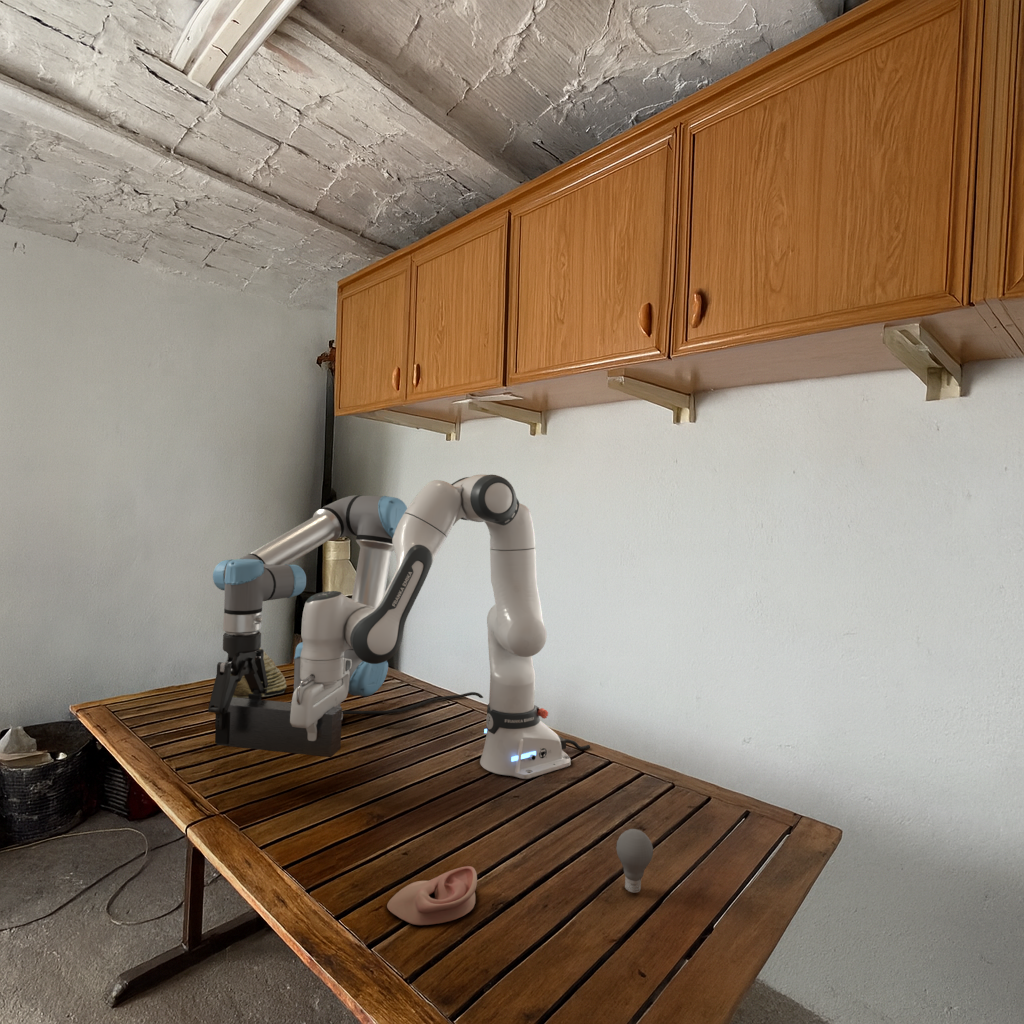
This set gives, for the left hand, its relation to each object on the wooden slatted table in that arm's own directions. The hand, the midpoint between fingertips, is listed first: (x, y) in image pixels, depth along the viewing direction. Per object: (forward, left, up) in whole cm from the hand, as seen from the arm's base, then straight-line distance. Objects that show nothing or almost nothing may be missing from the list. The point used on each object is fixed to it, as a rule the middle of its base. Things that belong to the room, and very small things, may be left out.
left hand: (238, 732), depth 136 cm
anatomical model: (-1, +59, -12) cm, 60 cm away
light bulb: (-26, +81, -12) cm, 86 cm away
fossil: (-35, -55, -12) cm, 66 cm away
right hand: (-9, +16, +2) cm, 18 cm away
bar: (-5, +8, -2) cm, 9 cm away
